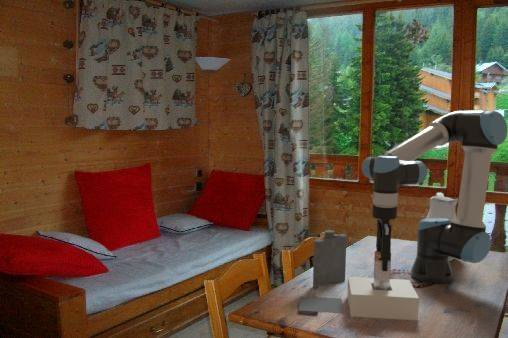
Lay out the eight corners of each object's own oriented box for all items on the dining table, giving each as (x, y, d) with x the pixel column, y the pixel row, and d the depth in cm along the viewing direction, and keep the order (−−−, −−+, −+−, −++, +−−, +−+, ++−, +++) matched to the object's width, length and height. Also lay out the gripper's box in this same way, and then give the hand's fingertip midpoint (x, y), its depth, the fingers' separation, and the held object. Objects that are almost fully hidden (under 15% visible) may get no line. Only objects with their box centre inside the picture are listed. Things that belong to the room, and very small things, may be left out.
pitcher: (462, 265, 201) (466, 200, 198) (420, 261, 206) (423, 197, 203) (455, 250, 224) (459, 191, 221) (417, 247, 229) (420, 189, 226)
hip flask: (317, 289, 173) (318, 235, 170) (309, 286, 176) (310, 232, 174) (346, 280, 182) (348, 228, 180) (338, 277, 186) (340, 226, 183)
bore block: (407, 302, 161) (409, 279, 160) (417, 323, 145) (419, 298, 144) (347, 299, 164) (348, 276, 163) (350, 319, 148) (351, 294, 147)
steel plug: (387, 305, 156) (389, 250, 154) (389, 311, 152) (392, 255, 149) (371, 304, 157) (373, 250, 155) (373, 310, 152) (375, 254, 150)
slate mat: (341, 301, 162) (341, 298, 162) (343, 316, 150) (343, 313, 150) (300, 299, 164) (300, 296, 164) (298, 313, 152) (298, 310, 152)
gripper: (369, 199, 161) (366, 265, 164) (376, 211, 141) (373, 286, 143) (392, 199, 160) (389, 266, 163) (403, 212, 140) (399, 287, 143)
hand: (381, 275), depth 153 cm, fingers open, 8 cm apart
